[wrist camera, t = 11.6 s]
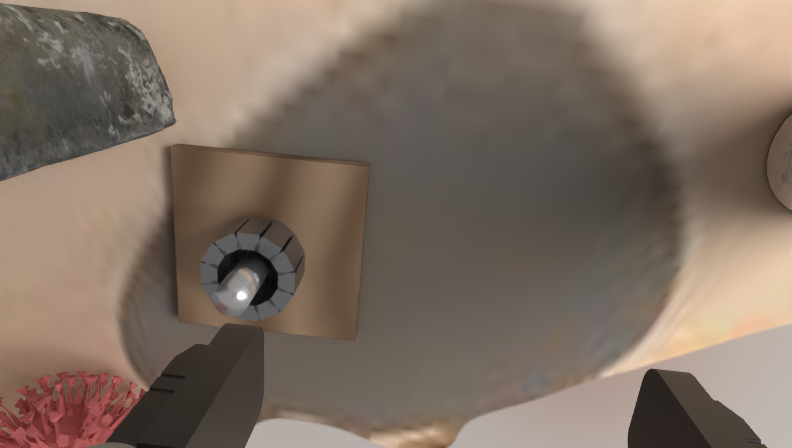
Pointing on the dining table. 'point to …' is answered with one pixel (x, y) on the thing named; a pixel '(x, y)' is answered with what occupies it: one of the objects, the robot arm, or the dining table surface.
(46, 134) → the concrete block
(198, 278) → the board
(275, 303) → the ring
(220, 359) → the robot arm
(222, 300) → the post
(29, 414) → the virus model
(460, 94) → the dining table surface
